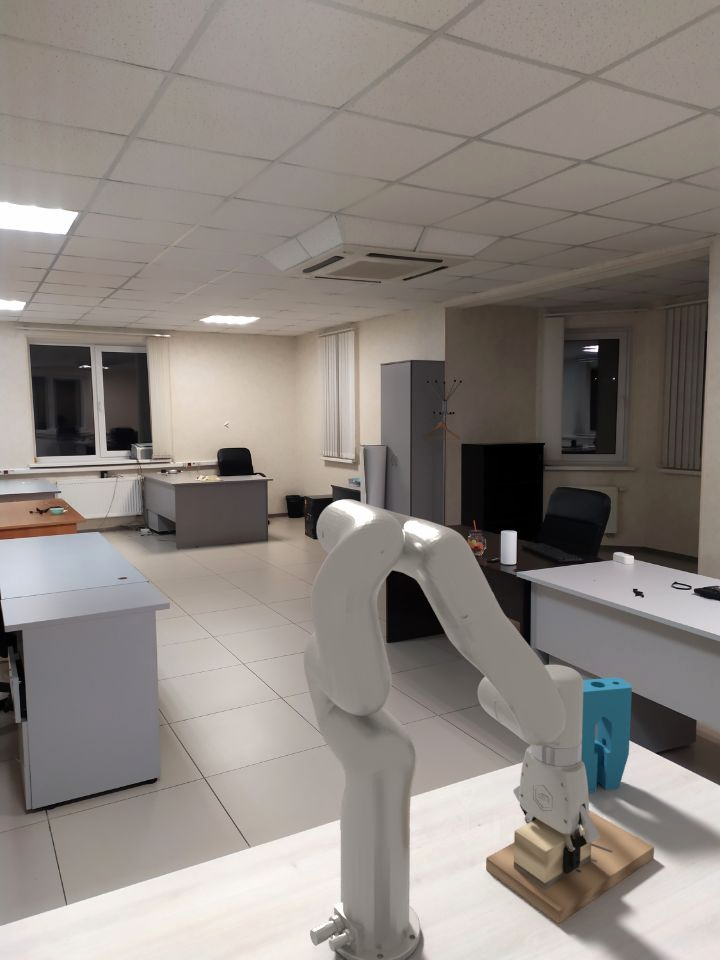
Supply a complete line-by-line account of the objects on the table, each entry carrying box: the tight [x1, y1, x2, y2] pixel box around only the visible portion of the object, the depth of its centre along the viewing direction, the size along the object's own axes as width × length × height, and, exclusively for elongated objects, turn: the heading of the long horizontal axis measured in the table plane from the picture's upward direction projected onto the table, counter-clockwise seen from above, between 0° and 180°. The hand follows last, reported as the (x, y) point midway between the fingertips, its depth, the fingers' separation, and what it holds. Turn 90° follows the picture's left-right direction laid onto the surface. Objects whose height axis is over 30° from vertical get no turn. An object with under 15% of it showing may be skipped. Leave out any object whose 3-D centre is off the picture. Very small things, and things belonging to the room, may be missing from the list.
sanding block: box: [513, 819, 591, 889], centre depth 105 cm, size 11×6×6 cm, turn 126°
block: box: [581, 676, 633, 793], centre depth 131 cm, size 12×5×20 cm, turn 101°
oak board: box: [485, 809, 655, 925], centre depth 109 cm, size 24×14×2 cm, turn 126°
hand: (553, 856), depth 106 cm, fingers closed on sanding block, 6 cm apart
